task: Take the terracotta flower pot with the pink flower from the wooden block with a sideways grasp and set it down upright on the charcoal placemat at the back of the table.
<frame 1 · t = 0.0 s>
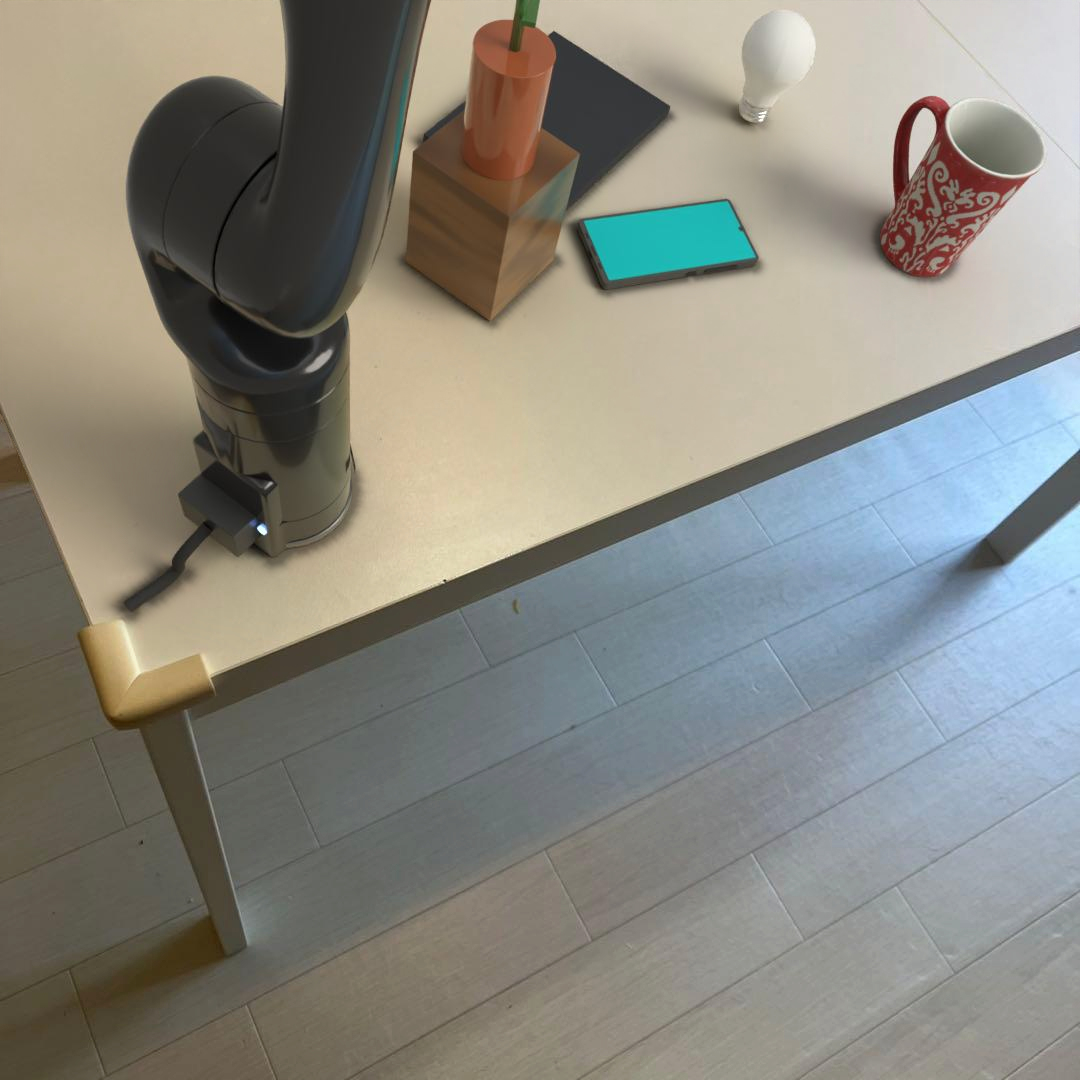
placemat: (549, 129, 95), on the table
wooden block: (480, 261, 87), on the table
smartphone: (666, 247, 91), on the table
light bulb: (748, 119, 100), on the table
flower pot: (497, 152, 76), point 12 cm above the table, touching wooden block
mug: (904, 236, 97), on the table
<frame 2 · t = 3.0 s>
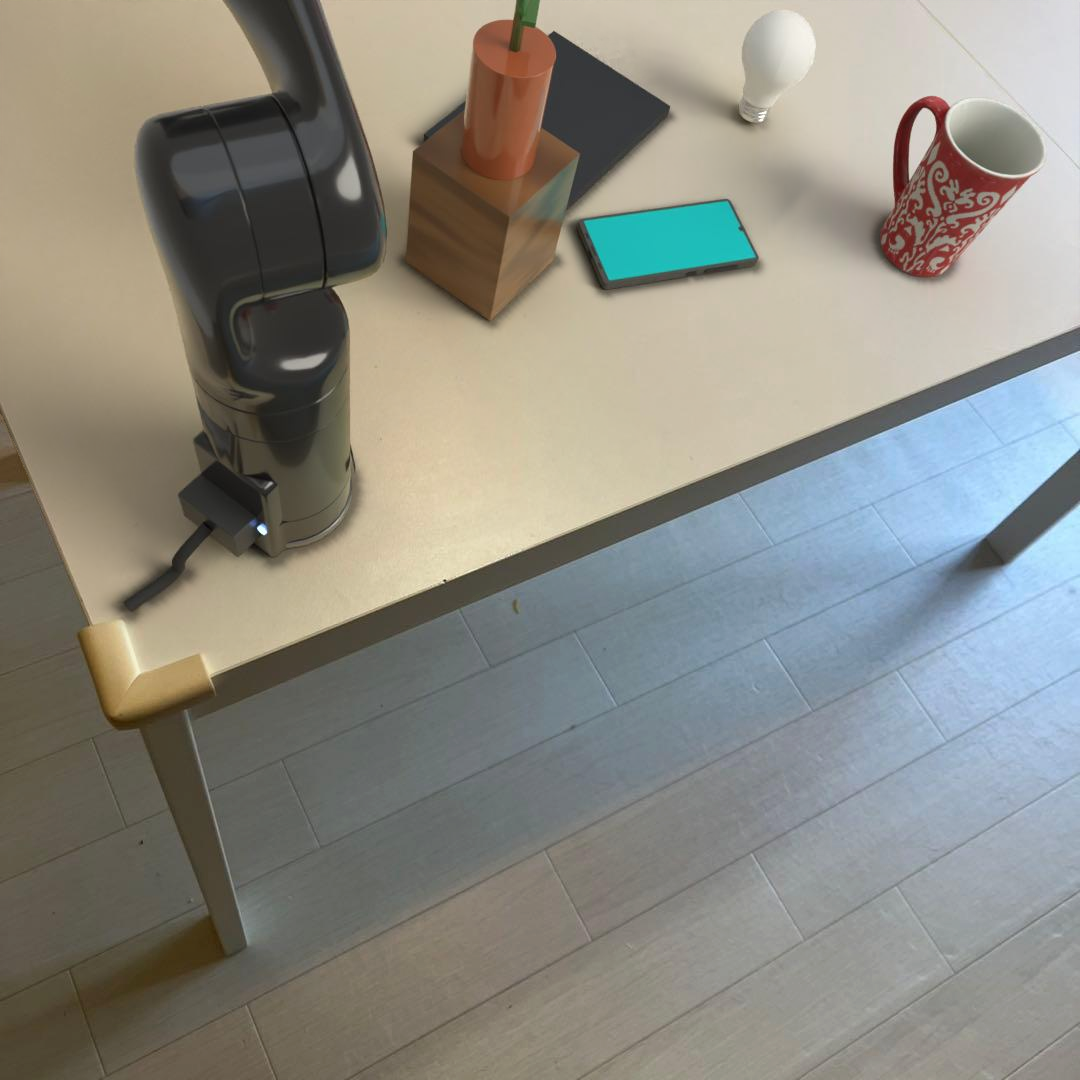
nothing on the table moved.
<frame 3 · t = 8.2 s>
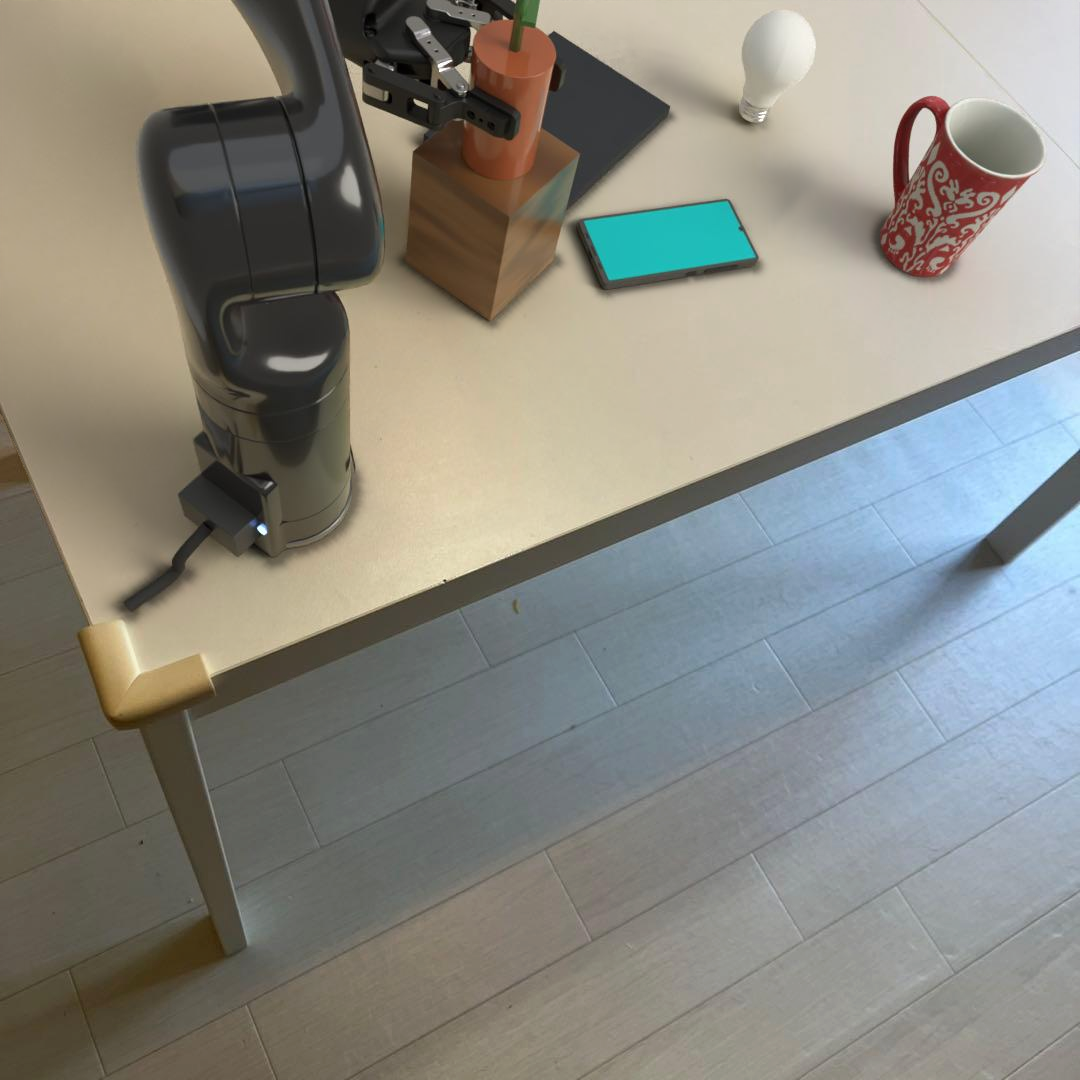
hand: (539, 102, 71), 18 cm above the table, tool horizontal, fingers closed on flower pot, 5 cm apart
flower pot: (498, 152, 76), point 12 cm above the table, touching gripper, wooden block
everything else where it was.
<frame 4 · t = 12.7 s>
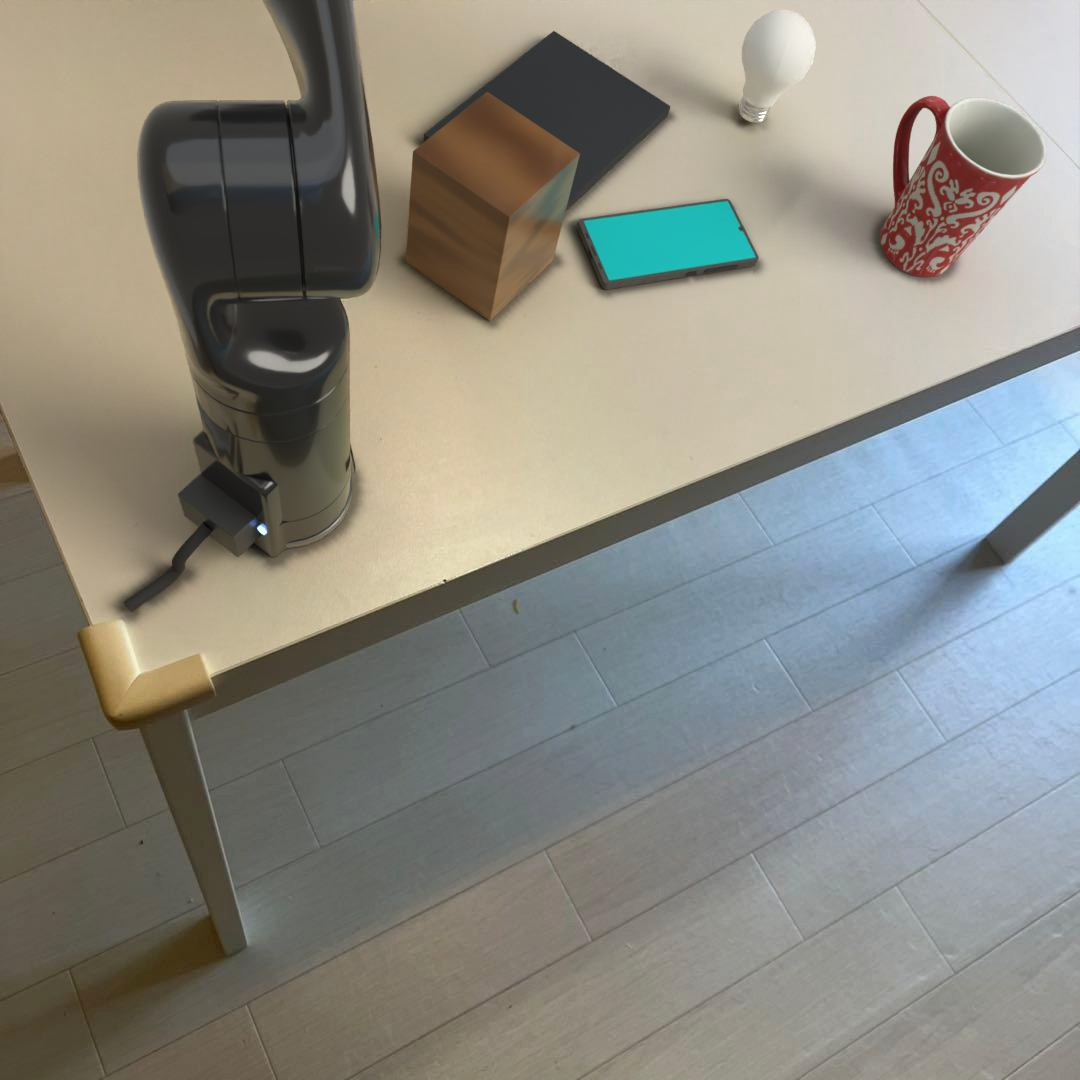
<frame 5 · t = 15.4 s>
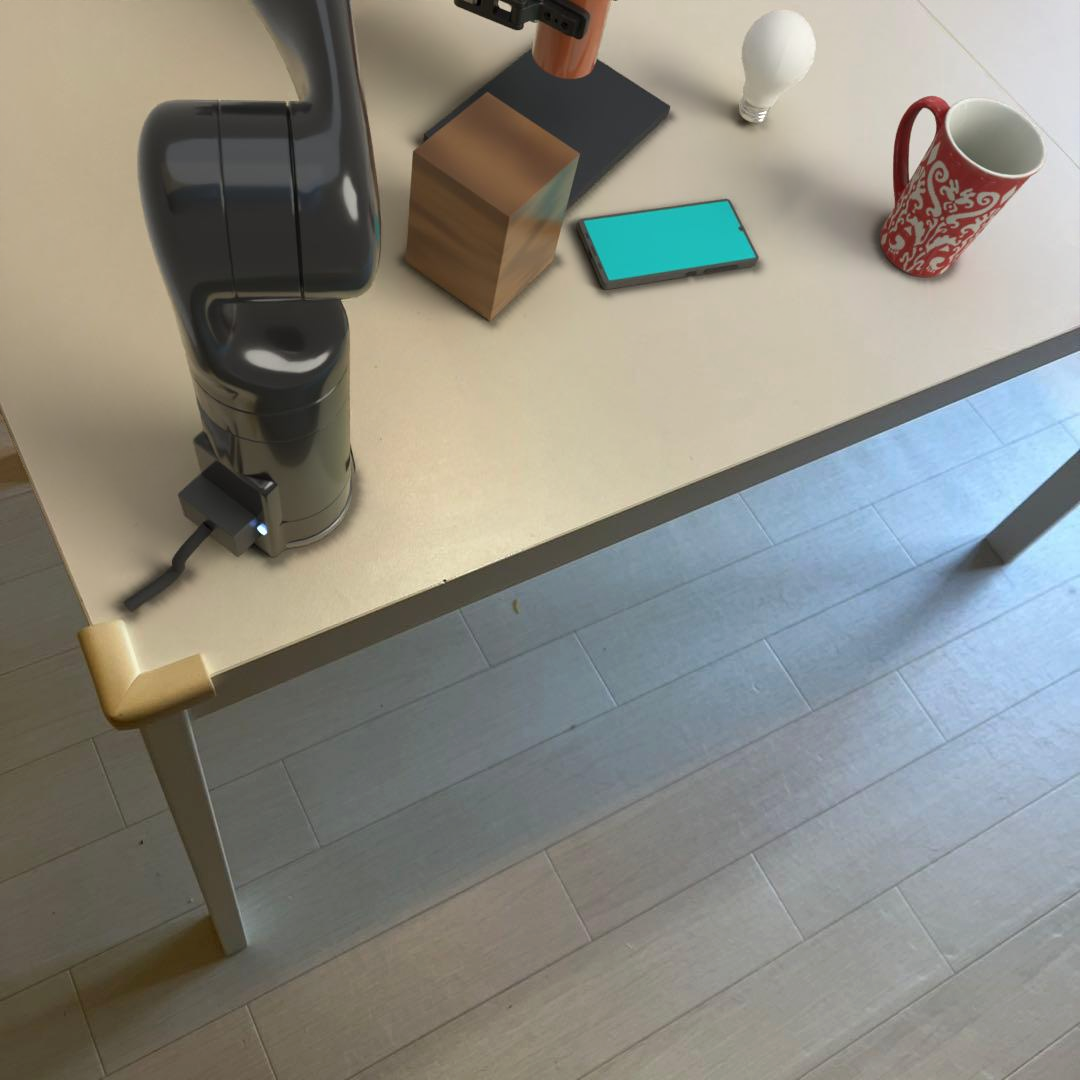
hand: (604, 7, 83), 14 cm above the table, tool horizontal, fingers closed on flower pot, 5 cm apart
flower pot: (563, 56, 88), point 8 cm above the table, touching gripper
everything else where it was.
when the fingers open (7 cm above the table, at t = 17.5 s): flower pot stays where it is, resting on placemat.
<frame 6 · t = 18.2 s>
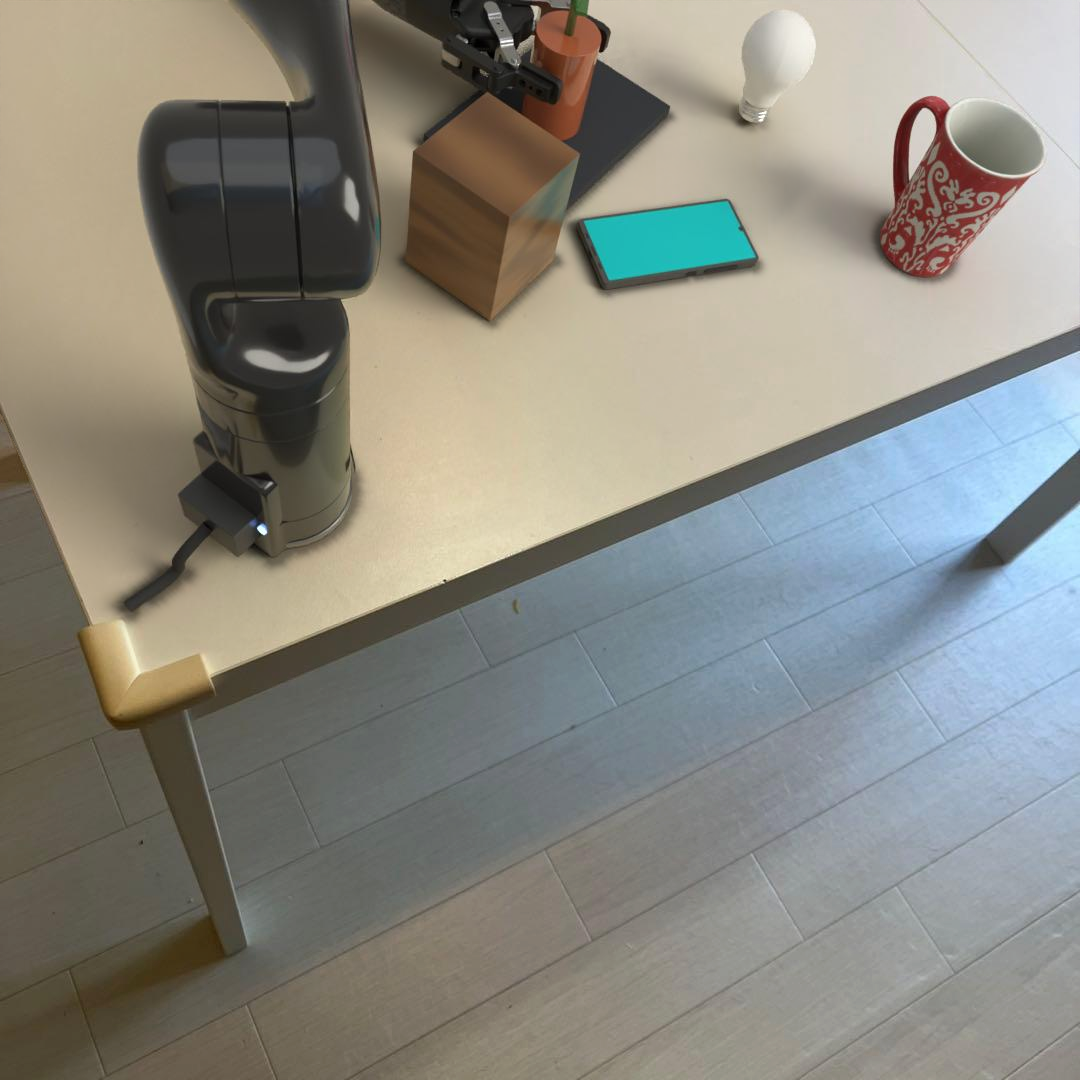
hand: (584, 67, 88), 8 cm above the table, tool horizontal, fingers open, 8 cm apart
flower pot: (550, 118, 94), point 1 cm above the table, touching placemat
everything else where it was.
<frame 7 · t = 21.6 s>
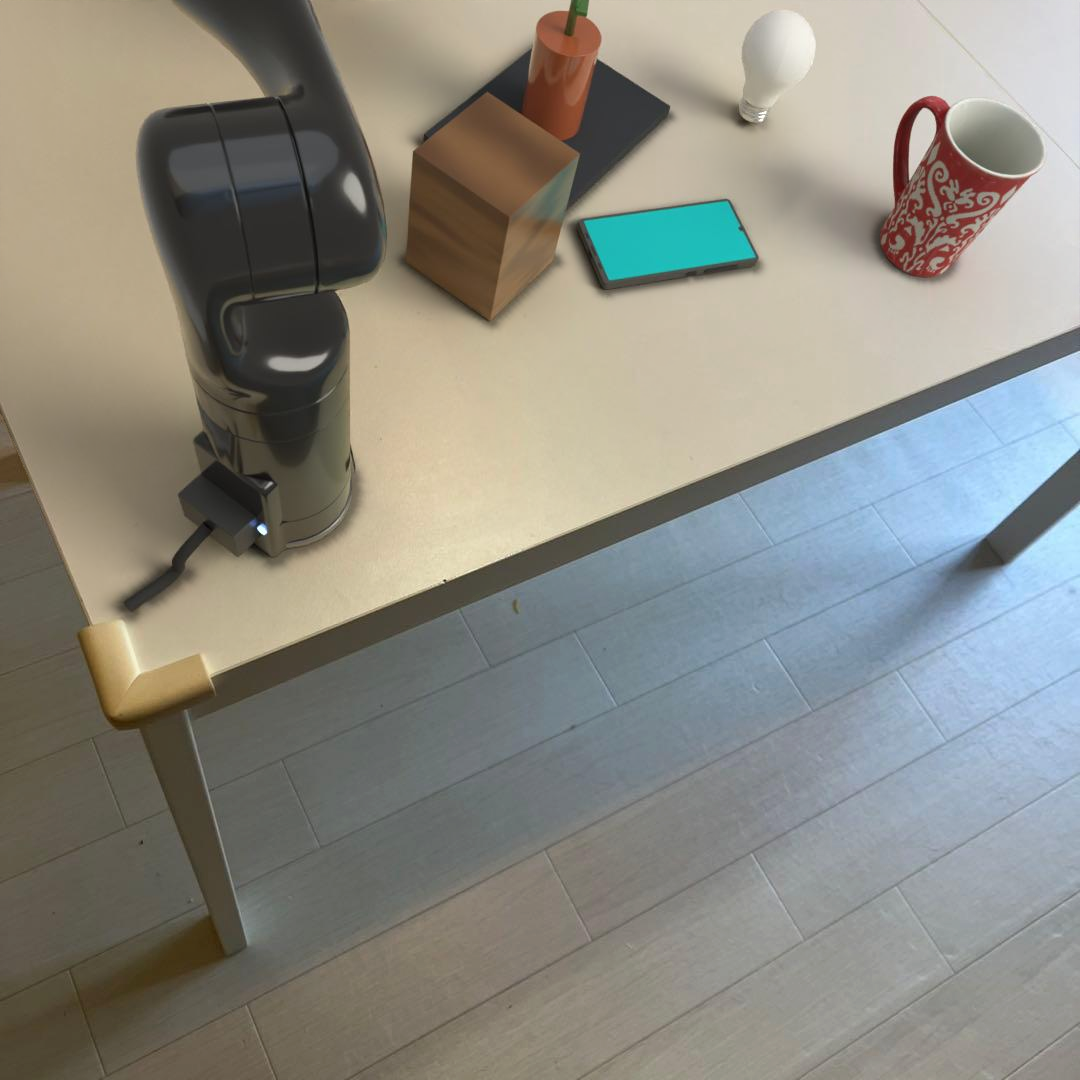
nothing on the table moved.
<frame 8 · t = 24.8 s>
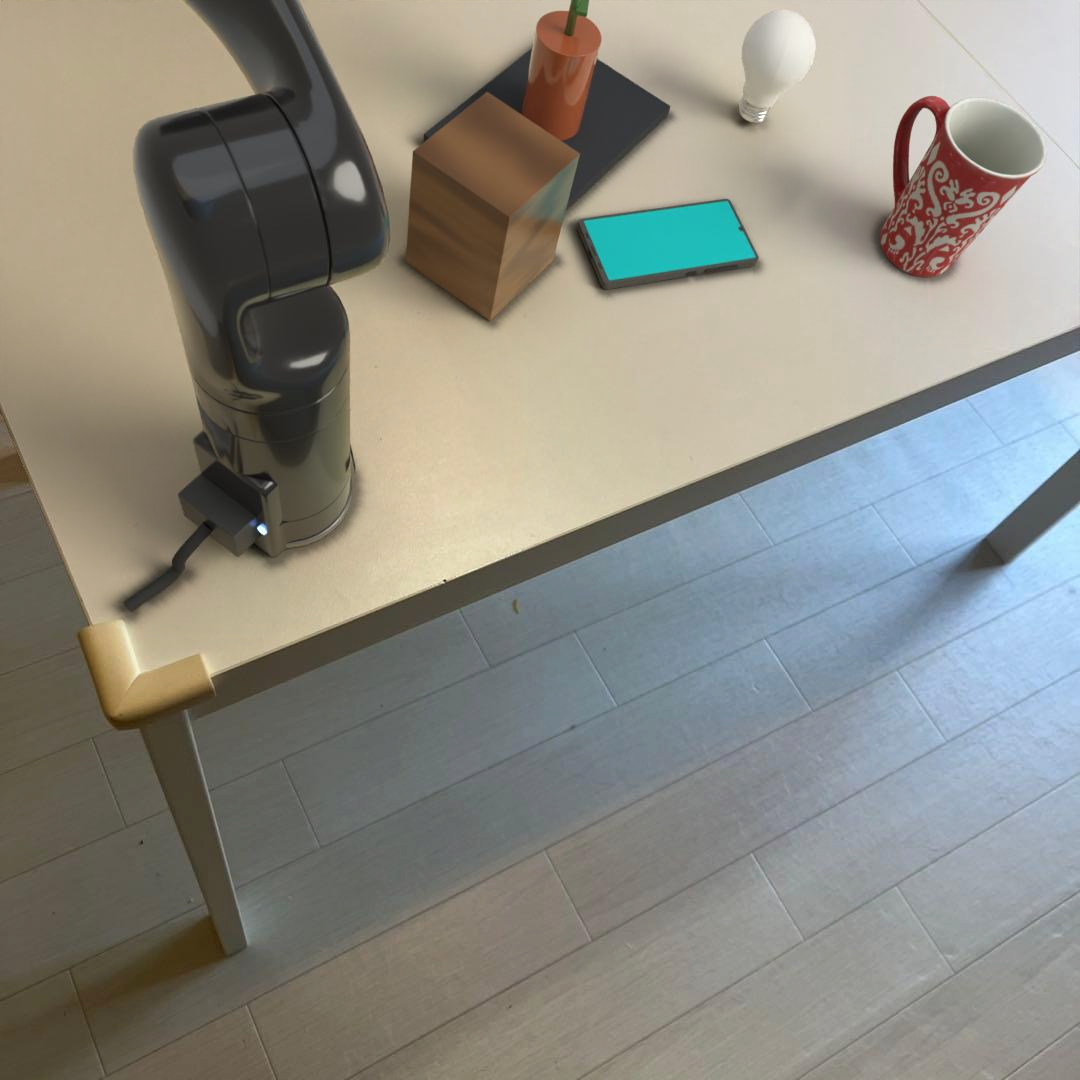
nothing on the table moved.
at the end: flower pot inside the target area on the placemat (0.1 cm from its centre), point 1.2 cm above the placemat's base; flower pot tilted 0°; the gripper is holding nothing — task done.
